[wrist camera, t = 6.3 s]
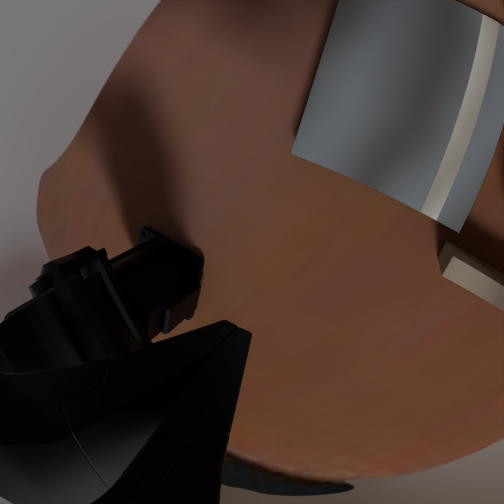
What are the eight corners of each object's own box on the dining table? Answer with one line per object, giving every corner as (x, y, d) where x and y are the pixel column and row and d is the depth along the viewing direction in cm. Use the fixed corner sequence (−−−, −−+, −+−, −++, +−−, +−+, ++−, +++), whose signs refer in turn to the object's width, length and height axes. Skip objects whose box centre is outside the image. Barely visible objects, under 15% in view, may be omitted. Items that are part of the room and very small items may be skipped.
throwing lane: (288, 185, 18) (272, 193, 16) (360, -47, 10) (353, -67, 8) (536, 317, 13) (547, 339, 11) (618, 106, 5) (637, 107, 3)
